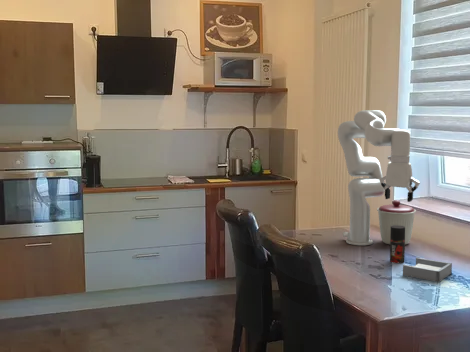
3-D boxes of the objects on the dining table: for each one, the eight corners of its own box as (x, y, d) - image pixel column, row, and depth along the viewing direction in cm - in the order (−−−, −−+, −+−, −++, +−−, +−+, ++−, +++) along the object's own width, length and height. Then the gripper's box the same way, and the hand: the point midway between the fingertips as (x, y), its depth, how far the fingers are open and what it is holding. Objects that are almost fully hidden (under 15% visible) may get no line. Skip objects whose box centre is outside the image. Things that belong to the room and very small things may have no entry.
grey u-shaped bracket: (402, 275, 211) (403, 265, 210) (416, 266, 222) (416, 257, 221) (438, 282, 202) (439, 271, 202) (451, 273, 213) (451, 263, 212)
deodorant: (405, 260, 231) (406, 226, 229) (402, 264, 226) (403, 228, 224) (391, 258, 234) (392, 224, 232) (388, 262, 229) (389, 227, 227)
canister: (418, 248, 251) (419, 203, 249) (378, 247, 254) (379, 203, 252) (411, 239, 269) (413, 197, 267) (374, 238, 272) (375, 196, 269)
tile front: (426, 276, 210) (426, 268, 210) (430, 273, 214) (430, 265, 213) (439, 278, 207) (439, 271, 206) (443, 275, 211) (443, 267, 210)
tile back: (413, 273, 213) (413, 266, 213) (418, 270, 217) (418, 263, 217) (426, 276, 210) (426, 268, 210) (430, 273, 214) (430, 265, 214)
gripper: (376, 159, 228) (375, 199, 230) (416, 161, 216) (415, 203, 219) (384, 157, 233) (383, 196, 236) (423, 160, 222) (422, 201, 225)
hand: (398, 200), depth 227 cm, fingers open, 9 cm apart
